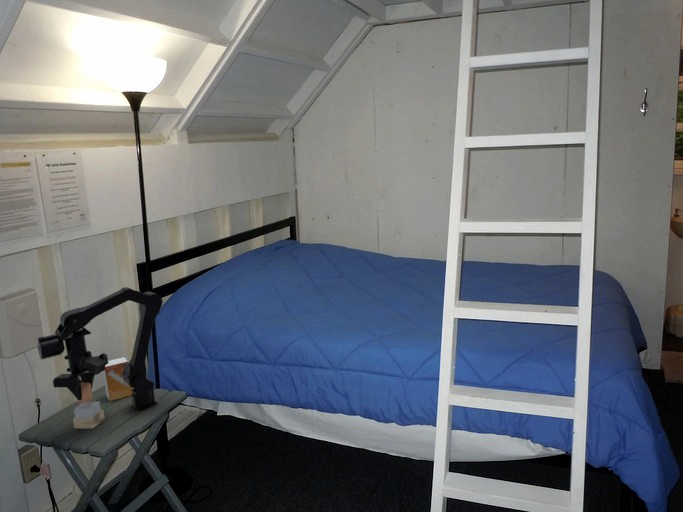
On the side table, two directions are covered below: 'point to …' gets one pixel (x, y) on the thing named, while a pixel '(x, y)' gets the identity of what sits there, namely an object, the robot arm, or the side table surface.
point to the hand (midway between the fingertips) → (84, 396)
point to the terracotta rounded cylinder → (86, 393)
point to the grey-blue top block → (87, 410)
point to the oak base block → (89, 421)
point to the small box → (116, 380)
